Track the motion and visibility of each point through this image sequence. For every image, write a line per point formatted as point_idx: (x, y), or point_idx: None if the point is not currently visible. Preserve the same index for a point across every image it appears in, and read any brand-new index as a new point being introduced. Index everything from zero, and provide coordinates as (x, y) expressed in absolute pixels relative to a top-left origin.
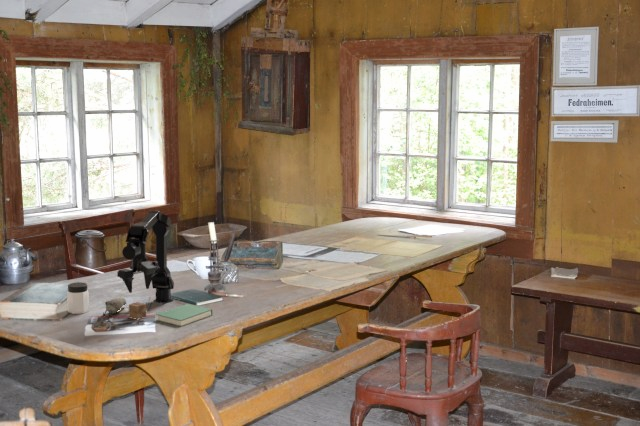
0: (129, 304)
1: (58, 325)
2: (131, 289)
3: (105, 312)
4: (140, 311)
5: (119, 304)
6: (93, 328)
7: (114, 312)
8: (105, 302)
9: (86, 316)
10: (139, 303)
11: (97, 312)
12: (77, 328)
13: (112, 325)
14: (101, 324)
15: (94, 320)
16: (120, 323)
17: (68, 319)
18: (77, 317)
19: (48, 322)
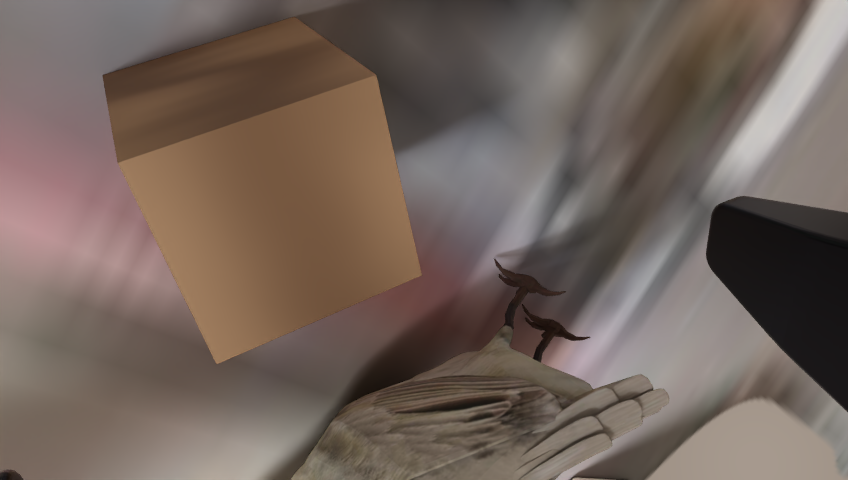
0: (412, 276)
1: None
2: (838, 224)
3: (540, 358)
4: (258, 70)
5: (410, 441)
6: (793, 33)
7: (431, 369)
8: (656, 403)
9: None
10: (230, 259)
11: None
12: (844, 120)
13: (640, 5)
14: (678, 114)
15: (636, 268)
16: (540, 20)
17: (723, 372)
18: None
19: None
